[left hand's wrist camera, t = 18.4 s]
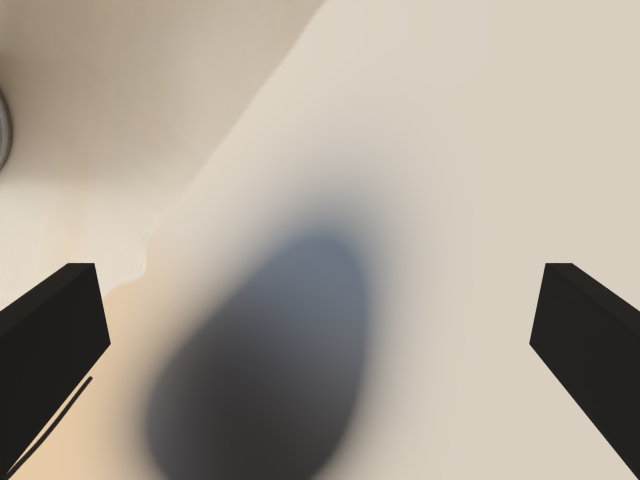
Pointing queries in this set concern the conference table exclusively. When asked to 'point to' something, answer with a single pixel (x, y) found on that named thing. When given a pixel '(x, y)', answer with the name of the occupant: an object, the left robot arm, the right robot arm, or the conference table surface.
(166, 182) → the conference table surface
